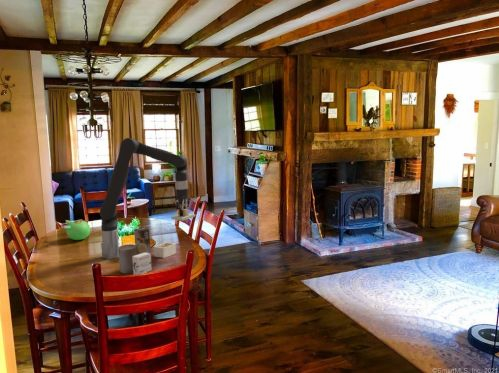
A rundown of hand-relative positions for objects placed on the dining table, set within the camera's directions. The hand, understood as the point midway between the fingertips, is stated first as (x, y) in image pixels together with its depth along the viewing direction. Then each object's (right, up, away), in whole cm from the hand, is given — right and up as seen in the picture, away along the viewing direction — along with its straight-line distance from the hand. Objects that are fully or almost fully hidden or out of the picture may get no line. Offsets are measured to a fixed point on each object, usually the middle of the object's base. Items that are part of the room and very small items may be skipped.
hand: (183, 215), depth 244 cm
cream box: (-12, -25, +3) cm, 27 cm away
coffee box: (-26, -25, +4) cm, 36 cm away
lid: (0, -1, 0) cm, 1 cm away
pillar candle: (-26, -29, -24) cm, 46 cm away
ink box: (-16, -30, -33) cm, 47 cm away
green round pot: (-83, -21, +41) cm, 95 cm away
